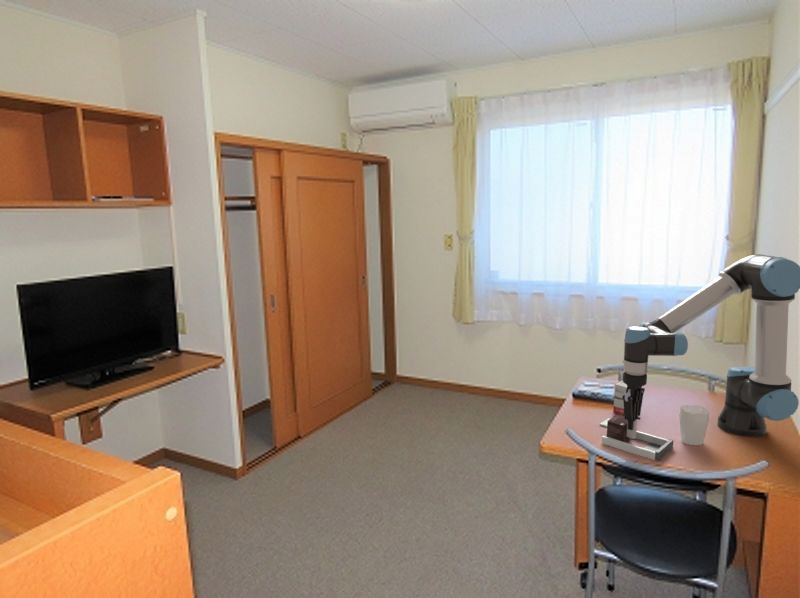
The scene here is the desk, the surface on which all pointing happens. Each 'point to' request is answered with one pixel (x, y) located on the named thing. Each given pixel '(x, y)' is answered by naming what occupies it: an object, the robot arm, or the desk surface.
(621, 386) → the ink box
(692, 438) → the cup
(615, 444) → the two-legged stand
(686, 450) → the desk surface
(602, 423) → the pad
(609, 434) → the box
